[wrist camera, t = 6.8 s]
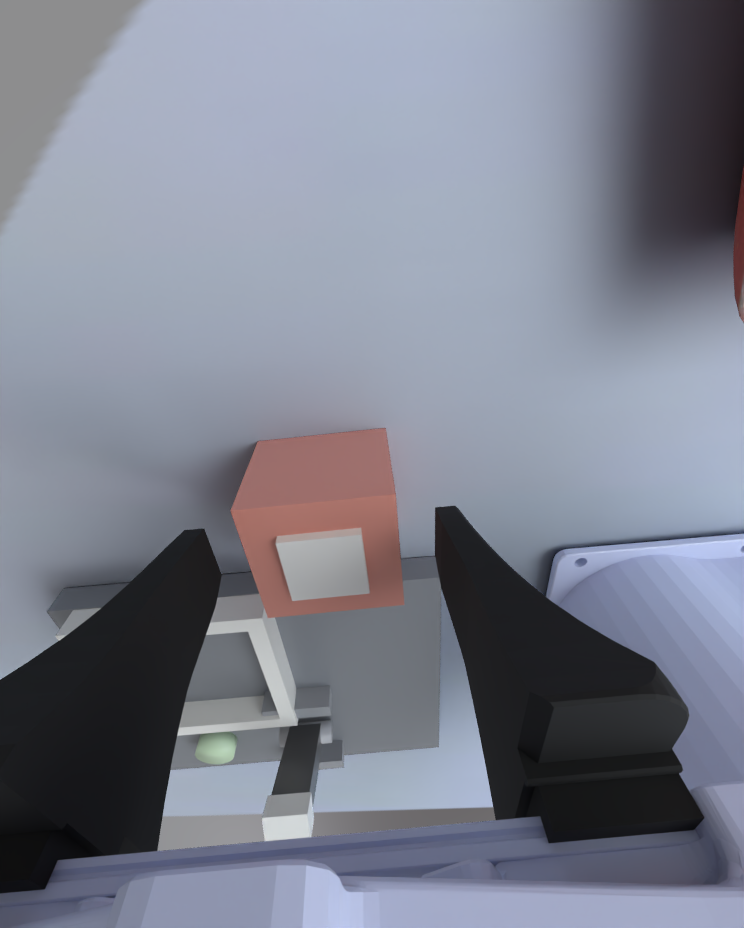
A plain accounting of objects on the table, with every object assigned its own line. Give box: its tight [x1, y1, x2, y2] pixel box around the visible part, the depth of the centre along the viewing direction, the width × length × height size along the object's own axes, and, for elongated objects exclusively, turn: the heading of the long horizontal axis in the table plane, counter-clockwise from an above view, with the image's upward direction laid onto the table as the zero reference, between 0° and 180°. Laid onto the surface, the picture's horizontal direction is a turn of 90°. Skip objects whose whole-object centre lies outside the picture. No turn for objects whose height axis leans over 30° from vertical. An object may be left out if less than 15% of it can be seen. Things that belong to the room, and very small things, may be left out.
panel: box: [47, 556, 441, 770], centre depth 21 cm, size 16×14×2 cm
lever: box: [262, 720, 333, 841], centre depth 19 cm, size 3×1×6 cm, turn 94°
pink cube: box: [230, 428, 404, 618], centre depth 14 cm, size 4×4×4 cm
